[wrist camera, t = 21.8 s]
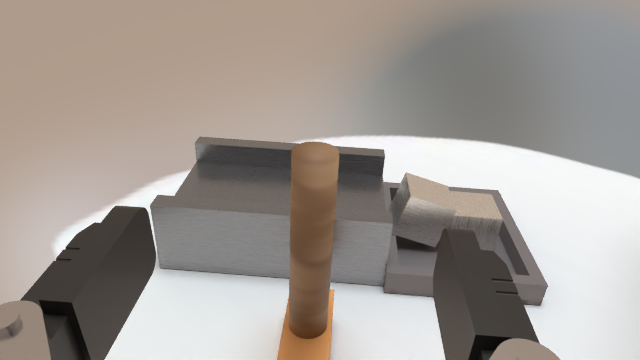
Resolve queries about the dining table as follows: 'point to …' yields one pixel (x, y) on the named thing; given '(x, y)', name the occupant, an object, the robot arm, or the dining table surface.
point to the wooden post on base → (310, 252)
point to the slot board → (269, 213)
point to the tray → (419, 259)
